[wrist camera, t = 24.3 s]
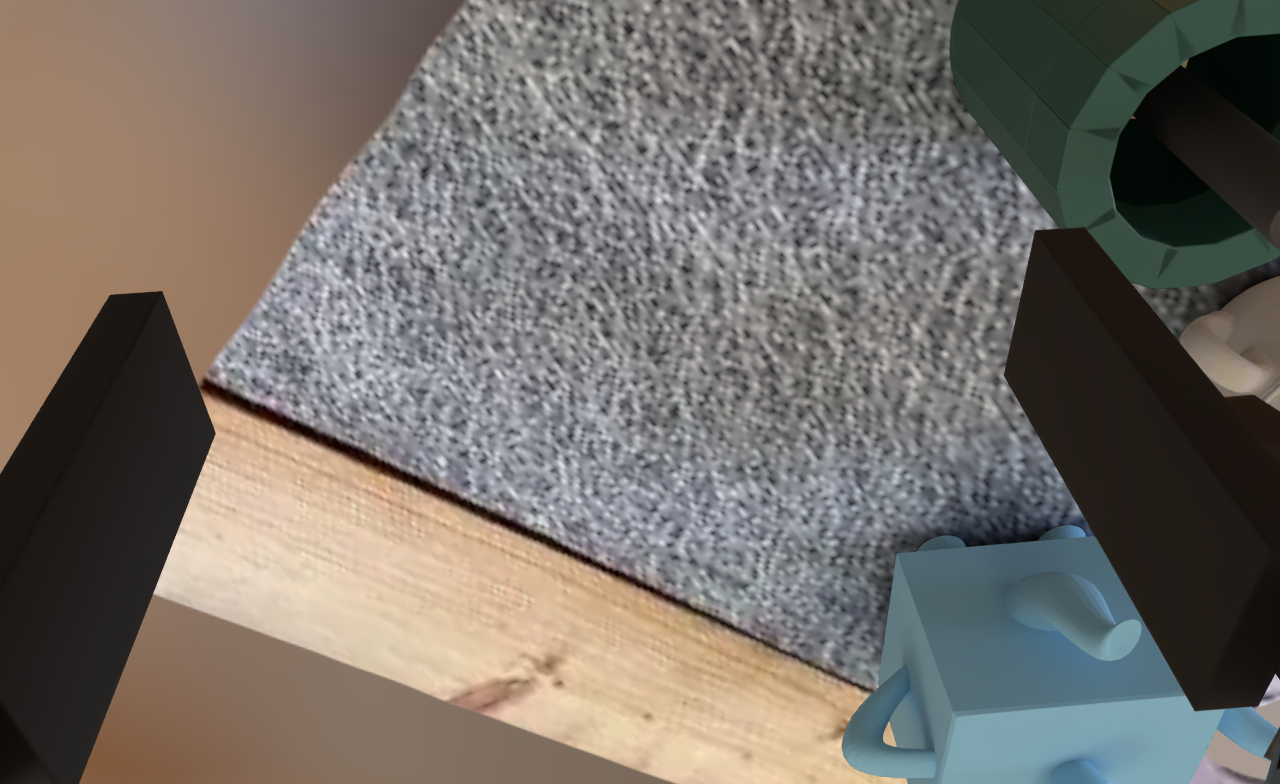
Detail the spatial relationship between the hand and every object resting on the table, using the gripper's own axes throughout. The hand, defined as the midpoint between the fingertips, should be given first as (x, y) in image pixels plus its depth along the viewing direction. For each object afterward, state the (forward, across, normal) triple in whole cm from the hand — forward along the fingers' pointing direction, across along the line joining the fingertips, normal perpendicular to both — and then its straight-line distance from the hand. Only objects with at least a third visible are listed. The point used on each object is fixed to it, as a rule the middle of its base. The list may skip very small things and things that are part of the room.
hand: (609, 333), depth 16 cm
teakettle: (+29, +23, -41) cm, 55 cm away
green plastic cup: (+29, +20, -6) cm, 36 cm away
